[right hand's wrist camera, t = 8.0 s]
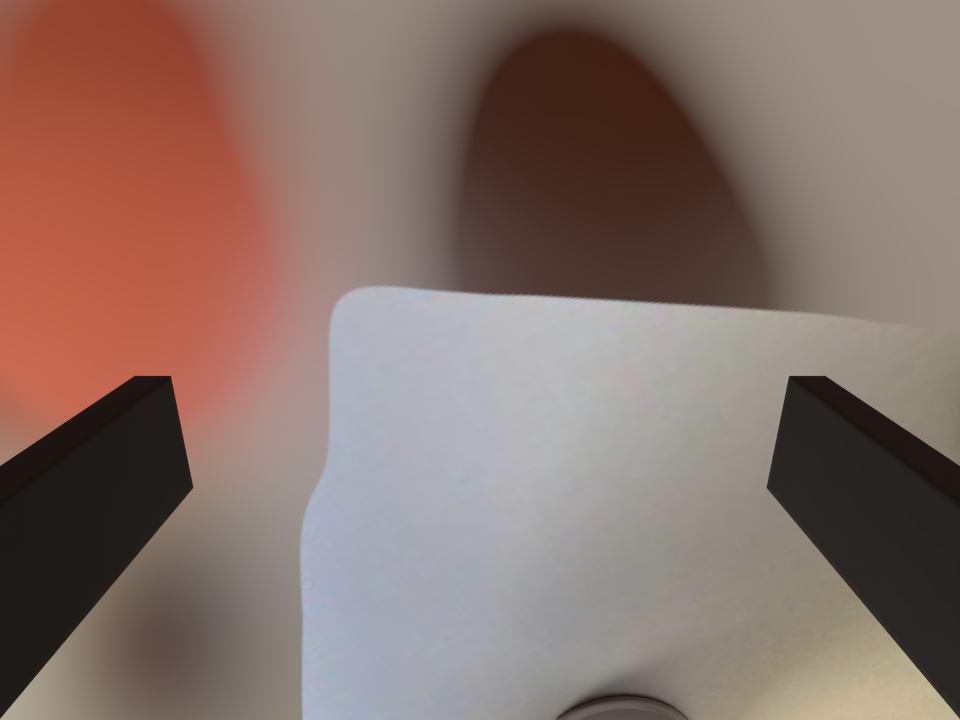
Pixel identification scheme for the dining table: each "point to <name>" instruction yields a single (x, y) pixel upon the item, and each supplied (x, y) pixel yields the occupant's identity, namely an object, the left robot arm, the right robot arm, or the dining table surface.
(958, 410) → the dining table surface
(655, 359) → the dining table surface
